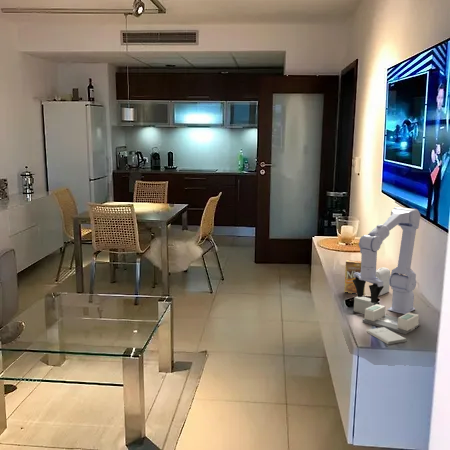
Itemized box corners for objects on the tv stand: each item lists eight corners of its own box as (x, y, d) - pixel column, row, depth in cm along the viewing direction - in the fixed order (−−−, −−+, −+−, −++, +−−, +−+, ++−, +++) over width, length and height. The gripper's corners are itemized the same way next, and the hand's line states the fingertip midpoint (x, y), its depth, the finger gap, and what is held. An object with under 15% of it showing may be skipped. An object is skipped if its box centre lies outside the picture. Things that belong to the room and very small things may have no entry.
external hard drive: (387, 346, 181) (366, 333, 192) (406, 342, 183) (384, 330, 195) (388, 341, 180) (366, 329, 192) (406, 338, 183) (384, 326, 195)
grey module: (358, 309, 218) (359, 295, 217) (373, 312, 213) (374, 299, 212) (353, 311, 215) (354, 297, 214) (368, 315, 210) (369, 301, 209)
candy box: (344, 292, 241) (345, 261, 238) (346, 290, 244) (347, 259, 242) (363, 295, 237) (364, 263, 234) (364, 293, 241) (366, 261, 238)
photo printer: (379, 296, 235) (380, 270, 233) (370, 294, 238) (372, 269, 236) (390, 292, 242) (391, 267, 240) (382, 290, 245) (383, 265, 243)
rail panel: (377, 314, 211) (378, 302, 210) (419, 326, 198) (420, 313, 197) (362, 322, 202) (363, 309, 201) (405, 334, 190) (406, 321, 189)
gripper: (348, 263, 202) (346, 295, 204) (373, 271, 189) (372, 306, 191) (361, 261, 205) (360, 293, 207) (388, 269, 192) (386, 303, 194)
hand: (367, 299), depth 199 cm, fingers open, 7 cm apart
